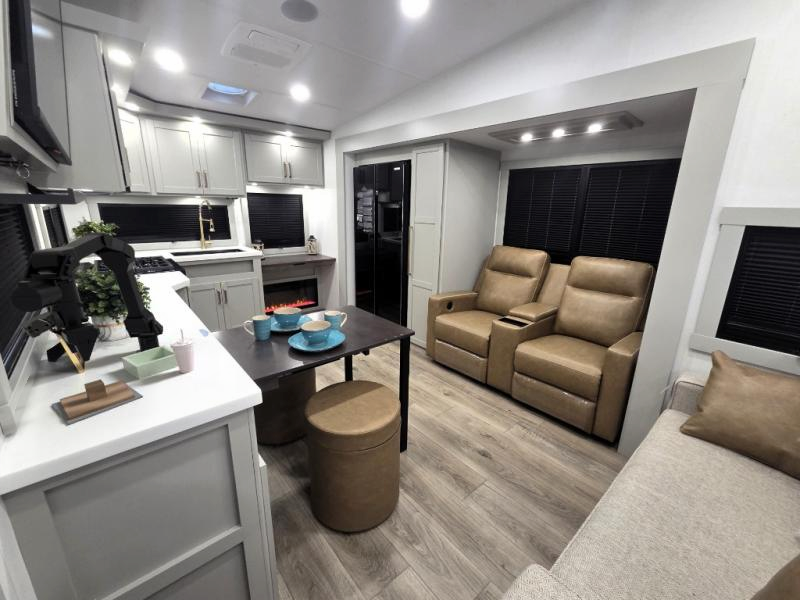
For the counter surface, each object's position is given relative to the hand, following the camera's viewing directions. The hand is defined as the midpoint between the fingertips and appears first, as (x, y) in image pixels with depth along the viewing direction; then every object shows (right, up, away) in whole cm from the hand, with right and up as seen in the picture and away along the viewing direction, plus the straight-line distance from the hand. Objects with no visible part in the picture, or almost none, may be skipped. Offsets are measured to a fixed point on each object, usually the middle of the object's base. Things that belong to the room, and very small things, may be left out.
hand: (80, 356), depth 89 cm
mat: (+4, -12, +1) cm, 13 cm away
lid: (+4, -12, +1) cm, 12 cm away
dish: (+4, -7, +21) cm, 22 cm away
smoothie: (+17, -8, +18) cm, 26 cm away
